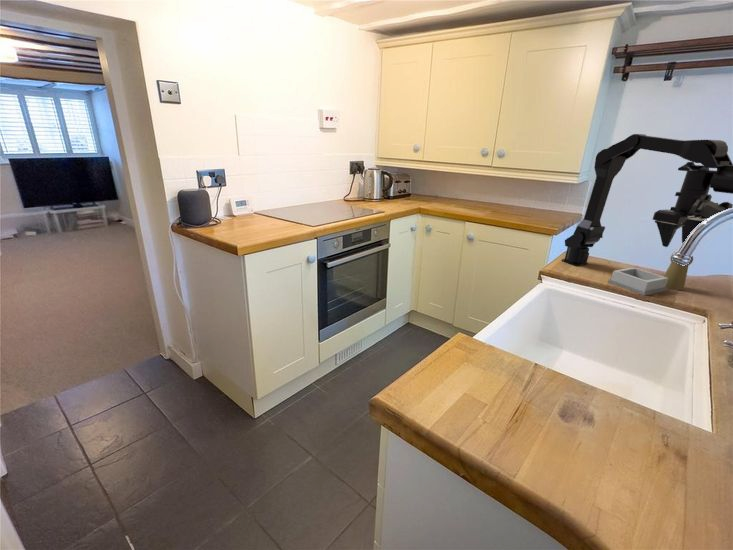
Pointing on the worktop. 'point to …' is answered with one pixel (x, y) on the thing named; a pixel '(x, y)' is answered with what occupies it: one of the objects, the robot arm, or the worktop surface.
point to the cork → (676, 275)
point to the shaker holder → (639, 281)
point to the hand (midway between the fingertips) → (675, 245)
